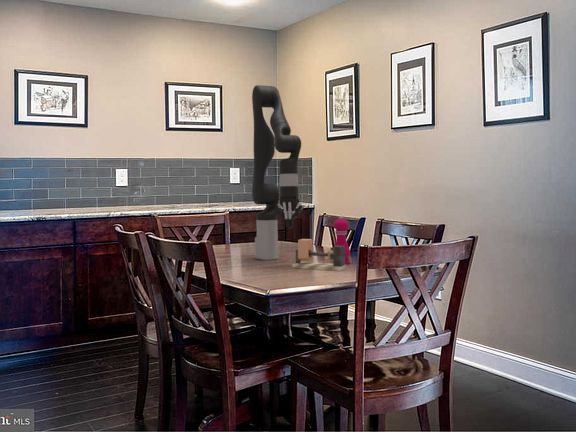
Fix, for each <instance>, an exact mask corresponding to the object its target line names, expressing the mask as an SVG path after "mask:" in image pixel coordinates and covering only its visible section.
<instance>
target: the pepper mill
mask: <svg viewBox="0 0 576 432" xmlns="http://www.w3.org/2000/svg"><path fill="white" fill-rule="evenodd" d="M333 223H334V224H333V228H334V230H335V231H334V233H335V234H334V235H336V241H335V244H334V246H345V265H348V264H350V258H349V257H350V255H351V250H350V247H349V245H348V243H347V234H348V228H349V221H348V220H346V219H345V218H344V215H342V214H340V215H339V216H338V219H336V220H335V221H334V222H333Z"/></svg>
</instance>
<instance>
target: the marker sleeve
mask: <svg viewBox="0 0 576 432" xmlns="http://www.w3.org/2000/svg"><path fill="white" fill-rule="evenodd" d="M297 249H298V260H301V261H309V260H312V259H313V256H310V255H309V252H313V239H312V238H300V239H298V240H297Z"/></svg>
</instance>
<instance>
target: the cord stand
mask: <svg viewBox="0 0 576 432" xmlns="http://www.w3.org/2000/svg"><path fill="white" fill-rule="evenodd" d="M332 247H333V249H329V250H328V252H317V251H312V252H309V255H310V256H314V257H327V258H328V260H333V261H332V262H333V263H325V262H312V261H311V262H310V261H302V260H298V248H296V249H295V263H292V267H291V268H292V269H302V270H303V269H305V270H319V271H332V272H340V271H343V270H346V269H347V264H345V246H335V245H334V246H332Z"/></svg>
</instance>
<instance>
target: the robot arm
mask: <svg viewBox="0 0 576 432" xmlns="http://www.w3.org/2000/svg"><path fill="white" fill-rule="evenodd" d="M251 100H252V116H253V176H252V187H251V189H252V191H251V197H252V201H253V202H254V204H255V205H260V206H261V205H262V206H263V205H265V208H264V209H263V210H261V211H259V212H258V213H257V214H256V216H255V217H256V236H255V237H254V252H255V253H254V255H255V256H254V258H255V259H256V260H266V261H270V260H276V259H279V251H278V249H279V247H278V246H279V245H278V243H279V242H278V241H279V240H278V238H279V237H278V236H279V234H278V232H279V230H278V229H279V228H278V215H279V216H280V218H283V219H285V227H286V228H287V229H293V227H294V219H295V218H296V219H297V218H298V217H299V216H300V214H301V213H302V211H303V210H304V208H305V205H303V204H301V202H300V200H299V177H298V161H299V158H300V152H301V149H302V139H301V138H300V137H299V136H298V135H296V134H291V131H292V129H291V127H290V125H289V122H288V120H287V118H286V115H285V112H284V107H283V103H282V98H281V95H280V92H279V90H278V88H277V87H275V86H272V85H263V84H262V85H261V84H260V85H259V84H258V85H254V86H253V89H252V93H251ZM263 108H269V109H270V108H272V109H273V112H272V114H271V116H270V119H269V124H270V126H269V125H268V123H267V120H266V119H265V117H264V112H263V111H264V110H263ZM275 150H276V151H277V152H278V153H281V154H283V153H284V154H288V153H289V157H288V158H284V159H281V160H280V161H279V180H278V181H279V182H278V183H279V185H277V184H276V183H272V182H271V183H265V176H266V171H267V170H268V167H269V165H270V163H271V162H272V160H273V158H274V156H275V153H276V151H275ZM278 187H279V188H278Z"/></svg>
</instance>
